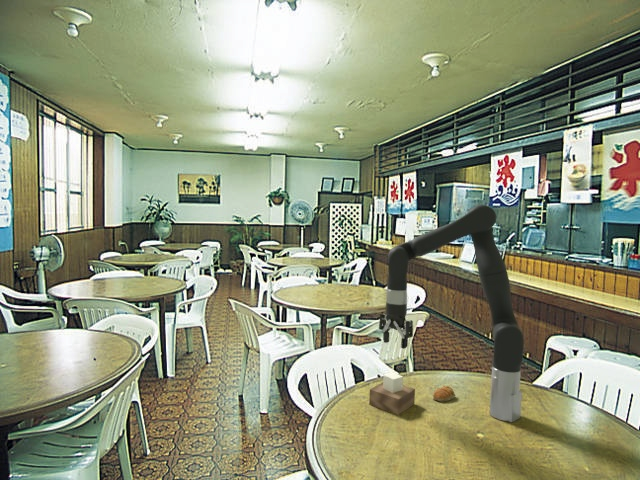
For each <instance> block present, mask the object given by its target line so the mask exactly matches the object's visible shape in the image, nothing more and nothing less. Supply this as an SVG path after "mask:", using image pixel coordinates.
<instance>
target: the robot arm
mask: <svg viewBox="0 0 640 480" xmlns="http://www.w3.org/2000/svg"><path fill="white" fill-rule="evenodd" d="M496 222H497V214H496V211H495V210H494V209H493V208H492V207H491V206H488V205H485V204H478V205H475V206H472V207H471V208H469V210H467V212H466V214H464V215H463V216H461V217H459V218H458V219H455V220H454V221H452V222H450V223H447V224H445V225H443V226H439V227H437V228H434V229H431V230H429V231H427V232H425V233H423V234H420V235H418V236H415V238H413V239H411V240H407V241H405V242H403V243H399V244H398V245H395V246H393V247H392V248H391V249H390V250H389V251H388V255H387V256H388V259H387V260H388V274H387V284H386V285H387V288H386V296H385V298H386V300H385V313H380V314H379V324H378V329H379V330H381V331H382V332H383V339H382V340H383V343H385V344H387V343H390V330H391V329H394V330H395V331H397V332H398V333H399V334H400V336H401V342H400V343H401V344H400V345H401V346H400V347H401V349H405V350H406V349H407V348H408V347H409V346H408V345H409V343H408V342H409V338H413V337H414V329H413V328H414V323H413V320H407V319H406V315H407V310H408V275H407V274H408V269H409V261H411V260H413V259H416V258H417V257H423V256H426V255H428V254H430V253H432V252H434V251H436V250H438V249H441V248H443V247H445V246H446V245H449V244H450V243H452V242H455V241H457V240H459V239H462V238H464V237H466V236H470V238H471V241H472V244H473V247H474V255H475V260H476V266H477V272H478V275H479V280H480V284H481V287H482V291H483V294H484V296H485V299H486V301H487V304H488V306H489V311H490V315H491V322H492V323H491V324H492V334H493V338H494V341H493V342H494V343H493V356H492V362H491V364H492V365H491V377H490V394H489V395H490V396H489V397H490V398H489V399H490V400H489V414H490V416H492V417H493V418H495V419H497V420H500V421H504V422H509V423H514V422H515V421H518V420H519V419H521V413H522V398H523V397H522V395H523V392H522V391H521V390H520V387H521V372H522V371H521V369H522V364H523V357H524V355H523V354H524V344H525V341H524V340H525V337H524V334H523V332H522V330H521V328H520V326H519V324H518V322H517V319H516V316H515V313H514V310H513V307H512V296H511V295H512V294H511V293H512V292H511V285H510V279H509V275H508V270H507V267H506V264H505V262H504V259H503V257H502V255H501V252H500V250H499V249H498V247H497V244H496V240H495V237H494V231H493V227H494V226H495V223H496Z"/></svg>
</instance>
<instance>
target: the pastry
mask: <svg viewBox="0 0 640 480" xmlns="http://www.w3.org/2000/svg"><path fill="white" fill-rule="evenodd" d="M455 397H456V393H455V390H454V389H453V388H452V387H450V386H449V385H446V386H445V385H443V386H441V387H439V388H437V389H436V390H435V391H434V392H433V395H432V398H433V400H435V401H438V402H440V403H444V402H449V401H451V400H453V399H454V398H455Z"/></svg>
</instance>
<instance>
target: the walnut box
mask: <svg viewBox="0 0 640 480" xmlns="http://www.w3.org/2000/svg"><path fill="white" fill-rule="evenodd" d="M415 399H416V388H413V387H409V386H406V385H403V389H402V390H401V391H398V392H394V393H392V392H390V391H388V390H386V389H384V388H383V382H381V383H379V384H377V385H376V386H374V387H371V388H370V389H369V406H373V407H375V408H378V409H380V410H383V411H386V412H389V413H391V414H394V415H397V416H399V415H400V414H402V413H403V412H405V411H406V410H408V409H409V408H411V407H412V406H413V405H415Z"/></svg>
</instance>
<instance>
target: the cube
mask: <svg viewBox="0 0 640 480" xmlns="http://www.w3.org/2000/svg"><path fill="white" fill-rule="evenodd" d="M382 377H383V379H382V380H383V381H382V383H383V388H384V389H386V390H388V391H390V392H392V393H394V392H398V391H401V390H402V389H403V383H404V376H402V375H400V374H398V373H396V372H393V371H392V372H389V373H386V374H383V376H382Z"/></svg>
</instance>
